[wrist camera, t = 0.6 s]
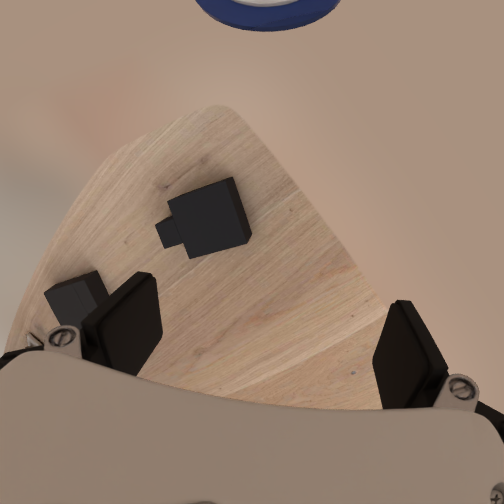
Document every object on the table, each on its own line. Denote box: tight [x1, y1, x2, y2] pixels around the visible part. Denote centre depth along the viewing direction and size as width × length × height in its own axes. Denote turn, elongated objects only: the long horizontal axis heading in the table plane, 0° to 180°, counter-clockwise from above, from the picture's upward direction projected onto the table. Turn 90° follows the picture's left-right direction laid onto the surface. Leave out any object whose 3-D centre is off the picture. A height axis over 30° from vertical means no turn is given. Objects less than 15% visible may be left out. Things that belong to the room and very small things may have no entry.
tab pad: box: [155, 177, 252, 259], centre depth 29 cm, size 6×9×3 cm
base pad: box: [44, 271, 109, 330], centre depth 38 cm, size 14×12×3 cm
